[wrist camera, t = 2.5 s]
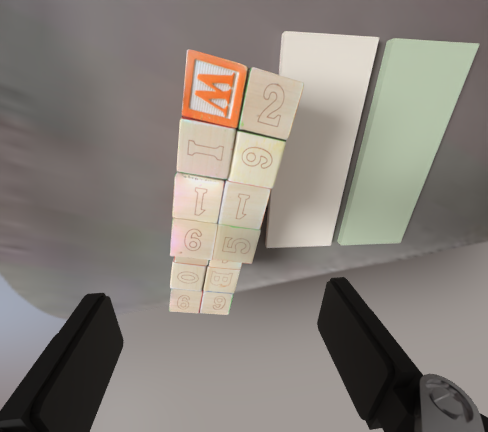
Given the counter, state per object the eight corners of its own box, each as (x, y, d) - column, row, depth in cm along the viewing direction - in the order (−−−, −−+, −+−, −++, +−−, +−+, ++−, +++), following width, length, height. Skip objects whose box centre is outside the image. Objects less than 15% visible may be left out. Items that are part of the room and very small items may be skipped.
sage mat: (469, 46, 22) (479, 43, 21) (395, 239, 32) (400, 243, 31) (387, 41, 21) (394, 38, 20) (337, 241, 31) (340, 245, 30)
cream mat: (372, 40, 21) (379, 37, 20) (327, 241, 31) (330, 245, 30) (281, 34, 20) (284, 31, 19) (265, 243, 30) (266, 248, 29)
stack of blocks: (225, 261, 31) (229, 344, 20) (180, 256, 30) (158, 341, 19) (264, 94, 22) (308, 80, 11) (203, 77, 21) (186, 44, 10)
